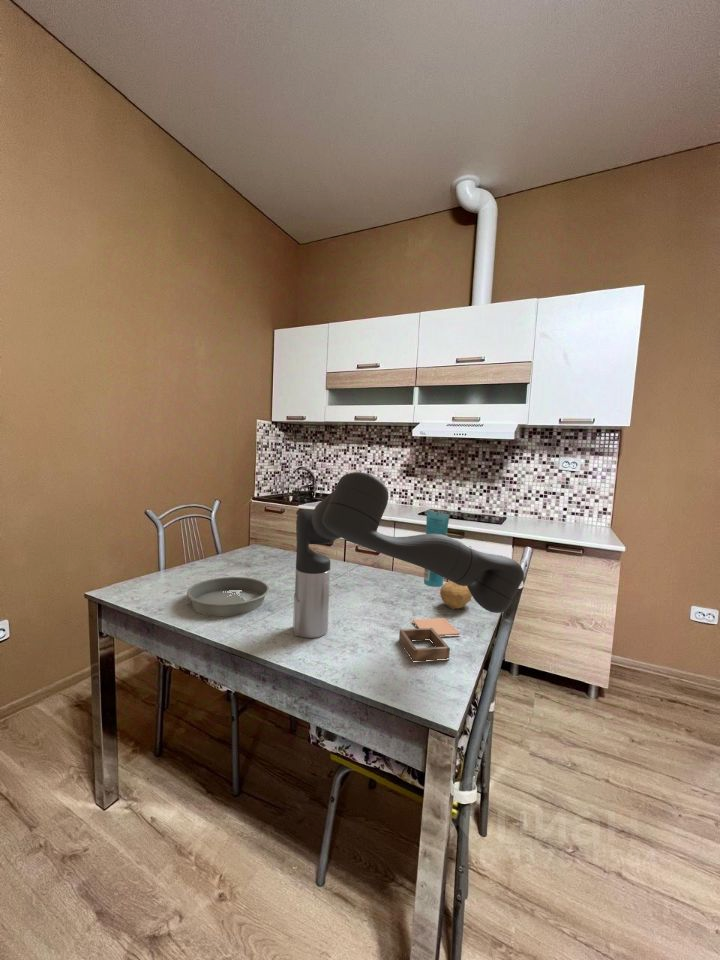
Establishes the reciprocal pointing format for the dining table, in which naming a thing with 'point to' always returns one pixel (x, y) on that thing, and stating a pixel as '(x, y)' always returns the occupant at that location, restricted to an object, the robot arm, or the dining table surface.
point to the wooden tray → (424, 653)
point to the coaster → (437, 626)
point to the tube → (435, 525)
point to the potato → (455, 595)
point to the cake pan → (216, 603)
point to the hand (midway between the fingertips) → (431, 542)
